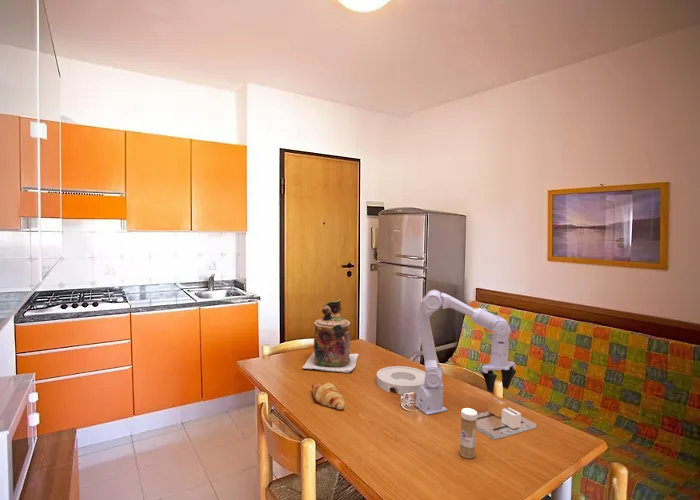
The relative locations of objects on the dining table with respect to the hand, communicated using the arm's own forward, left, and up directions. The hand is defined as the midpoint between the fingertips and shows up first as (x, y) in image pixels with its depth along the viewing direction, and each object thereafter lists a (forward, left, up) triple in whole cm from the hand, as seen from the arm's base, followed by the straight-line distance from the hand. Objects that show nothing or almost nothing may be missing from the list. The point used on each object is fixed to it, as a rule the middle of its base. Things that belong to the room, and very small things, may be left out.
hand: (497, 389), depth 141 cm
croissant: (-51, +36, -11) cm, 63 cm away
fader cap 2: (-2, -8, -9) cm, 12 cm away
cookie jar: (-32, +74, -10) cm, 81 cm away
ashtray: (-14, +39, -11) cm, 43 cm away
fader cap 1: (0, 0, -9) cm, 9 cm away
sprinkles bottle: (-27, -14, -10) cm, 32 cm away
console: (-3, -4, -10) cm, 11 cm away
